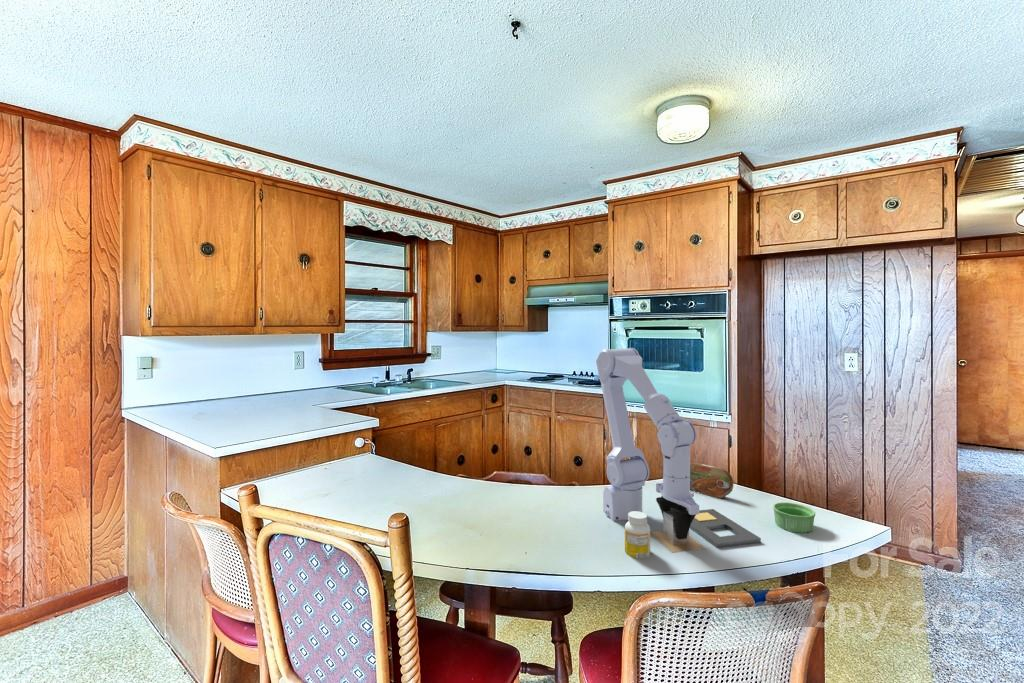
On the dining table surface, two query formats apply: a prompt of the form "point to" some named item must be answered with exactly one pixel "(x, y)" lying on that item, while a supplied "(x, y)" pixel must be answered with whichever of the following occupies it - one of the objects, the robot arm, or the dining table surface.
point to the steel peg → (671, 529)
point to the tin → (710, 480)
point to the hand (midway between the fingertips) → (676, 533)
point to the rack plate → (715, 521)
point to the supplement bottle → (637, 535)
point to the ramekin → (794, 517)
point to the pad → (679, 547)
